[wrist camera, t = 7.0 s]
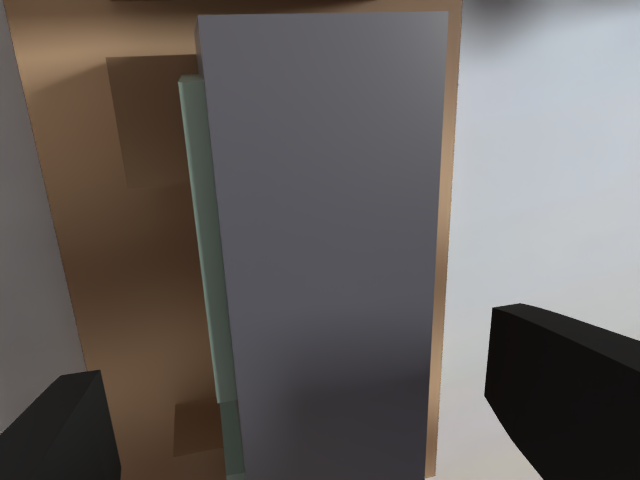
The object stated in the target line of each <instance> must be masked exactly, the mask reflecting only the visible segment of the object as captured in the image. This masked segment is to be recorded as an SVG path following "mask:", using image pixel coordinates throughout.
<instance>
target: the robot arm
mask: <svg viewBox="0 0 640 480" xmlns="http://www.w3.org/2000/svg"><path fill="white" fill-rule="evenodd" d="M484 396H485V398H486V399H487V401H488V403H489V404H490V406H491V408H492V409H493V411H494V413H495V414H496V416H497V418H498V419H499V421H500V423H501V424H502V426H503V427H504V429H505V430H506V432H507V433H508V435H509V437H510V438H511V440H512V441H513V442H514V444H515V445H516V446H517V447H518V449H519V450H520V451H521V452H522V454H523V455H524V456H525V457H526V459H527V460H528V461H529V462H530V464H531V465H532V466H533V467H534V468H535V470H536V471H537V472H538V473H539V475H540V476H541V477H542V478H543V480H640V341H638V340H635V339H632V338H629V337H626V336H623V335H620V334H617V333H614V332H612V331H609V330H606V329H603V328H600V327H597V326H594V325H591V324H588V323H585V322H582V321H579V320H576V319H573V318H570V317H567V316H564V315H561V314H558V313H555V312H552V311H548V310H545V309H542V308H538V307H534V306H530V305H526V304H521V303H519V304H513V305H507V306H500V307H494V308H492V318H491V329H490V340H489V350H488V361H487V372H486V382H485V393H484ZM0 480H121V463H120V458H119V454H118V449H117V444H116V440H115V435H114V430H113V426H112V421H111V417H110V412H109V407H108V403H107V398H106V393H105V389H104V384H103V379H102V375H101V370H93V371H87V372H81V373H74V374H68V375H62V376H60V377H59V378H58V379H56V380H55V381H54V382H53V383H52V384H51V385H50V386H49V387H48V388H47V389H46V390H45V391H44V392H43V393H42V394H41V395H40V396H39V397H38V398H37V399H36V400H35V401H34V402H33V403H32V404H31V405H30V406H29V407H28V408H27V409H26V410H25V411H24V412H23V413H22V414H21V415H20V416H19V417H18V418H17V419H16V420H15V421H14V422H13V423H12V424H11V425H10V426H9V427H8V428H7V429H6V430H5V431H4V432H3V433H2V434H1V435H0Z"/></svg>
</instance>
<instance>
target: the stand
mask: <svg viewBox="0 0 640 480" xmlns="http://www.w3.org/2000/svg"><path fill="white" fill-rule="evenodd" d="M3 3H4V7H5V11H6V16H7V20H8V25H9V29H10V33H11V38H12V42H13V47H14V51H15V56H16V60H17V64H18V69H19V73H20V78H21V82H22V86H23V91H24V95H25V100H26V104H27V109H28V113H29V117H30V122H31V126H32V131H33V135H34V139H35V144H36V148H37V153H38V157H39V161H40V166H41V170H42V175H43V179H44V184H45V188H46V192H47V197H48V201H49V206H50V210H51V214H52V219H53V223H54V228H55V232H56V237H57V241H58V245H59V250H60V254H61V259H62V263H63V267H64V272H65V276H66V281H67V285H68V289H69V294H70V298H71V303H72V307H73V312H74V316H75V320H76V325H77V329H78V334H79V338H80V342H81V347H82V351H83V356H84V360H85V365H86V369H87V371H93V370H101V375H102V379H103V384H104V389H105V393H106V398H107V403H108V407H109V412H110V417H111V421H112V426H113V430H114V435H115V440H116V444H117V449H118V454H119V458H120V463H121V480H227V478H226V468H225V457H224V446H223V435H222V424H221V413H220V403H217V396H216V388H215V380H214V372H213V363H212V355H211V347H210V339H209V331H208V322H207V314H206V306H205V298H204V290H203V282H202V273H201V265H200V257H199V249H198V241H197V232H196V224H195V216H194V208H193V200H192V191H191V183H190V175H189V167H188V159H187V151H186V142H185V134H184V126H183V118H182V110H181V101H180V93H179V85H178V81H179V79H180V77H181V75H193V74H198V65H197V56H196V47H195V37H194V30H195V26H196V21H197V16H198V15H231V14H298V13H365V12H432V11H449V13H448V33H447V52H446V72H445V91H444V111H443V130H442V150H441V169H440V189H439V208H438V228H437V247H436V266H435V286H434V305H433V325H432V344H431V364H430V383H429V403H428V422H427V442H426V461H425V478H429V477H433V476H435V471H436V454H437V436H438V419H439V402H440V384H441V367H442V350H443V333H444V315H445V298H446V281H447V263H448V246H449V229H450V211H451V194H452V177H453V159H454V142H455V125H456V107H457V90H458V73H459V56H460V38H461V21H462V4H463V0H3Z"/></svg>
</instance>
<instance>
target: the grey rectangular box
mask: <svg viewBox="0 0 640 480" xmlns="http://www.w3.org/2000/svg"><path fill="white" fill-rule="evenodd" d="M448 13H449V11H432V12H365V13H298V14H231V15H198V16H197V21H196V26H195V30H194V37H195V47H196V56H197V65H198V74H193V75H181V77H180V79H179V81H178V85H179V93H180V101H181V110H182V118H183V126H184V134H185V142H186V151H187V159H188V167H189V175H190V183H191V191H192V200H193V208H194V216H195V224H196V232H197V241H198V249H199V257H200V265H201V273H202V282H203V290H204V298H205V306H206V314H207V322H208V331H209V339H210V347H211V355H212V363H213V372H214V380H215V388H216V396H217V403H220V413H221V424H222V435H223V446H224V457H225V468H226V478H227V480H425V461H426V442H427V422H428V403H429V383H430V364H431V344H432V325H433V305H434V286H435V266H436V247H437V228H438V208H439V189H440V169H441V150H442V130H443V111H444V91H445V72H446V52H447V33H448Z"/></svg>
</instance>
